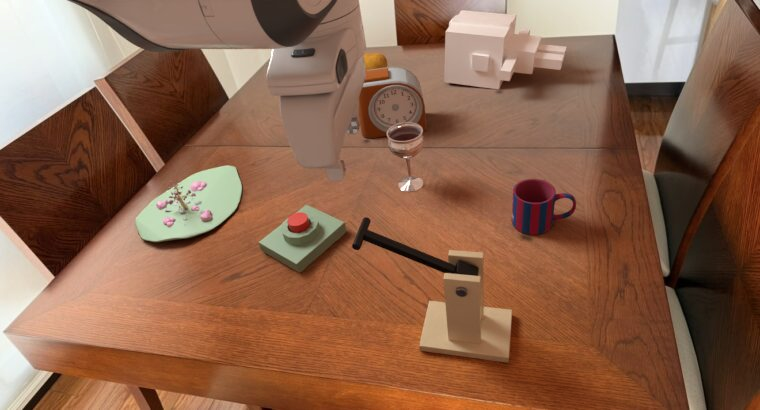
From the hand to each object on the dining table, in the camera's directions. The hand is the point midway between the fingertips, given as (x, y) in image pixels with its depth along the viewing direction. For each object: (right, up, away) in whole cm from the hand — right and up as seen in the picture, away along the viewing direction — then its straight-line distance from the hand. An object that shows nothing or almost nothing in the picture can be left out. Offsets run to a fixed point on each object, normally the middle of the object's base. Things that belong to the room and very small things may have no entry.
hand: (345, 152), depth 59 cm
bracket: (+16, -24, +12) cm, 32 cm away
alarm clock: (+7, +12, +58) cm, 60 cm away
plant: (-35, -6, +45) cm, 57 cm away
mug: (+32, -9, +27) cm, 43 cm away
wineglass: (+10, -2, +40) cm, 42 cm away
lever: (+8, -13, +5) cm, 16 cm away
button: (-10, -10, +29) cm, 32 cm away
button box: (-10, -13, +31) cm, 35 cm away
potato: (-1, +28, +79) cm, 84 cm away
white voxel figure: (+36, +27, +70) cm, 83 cm away
